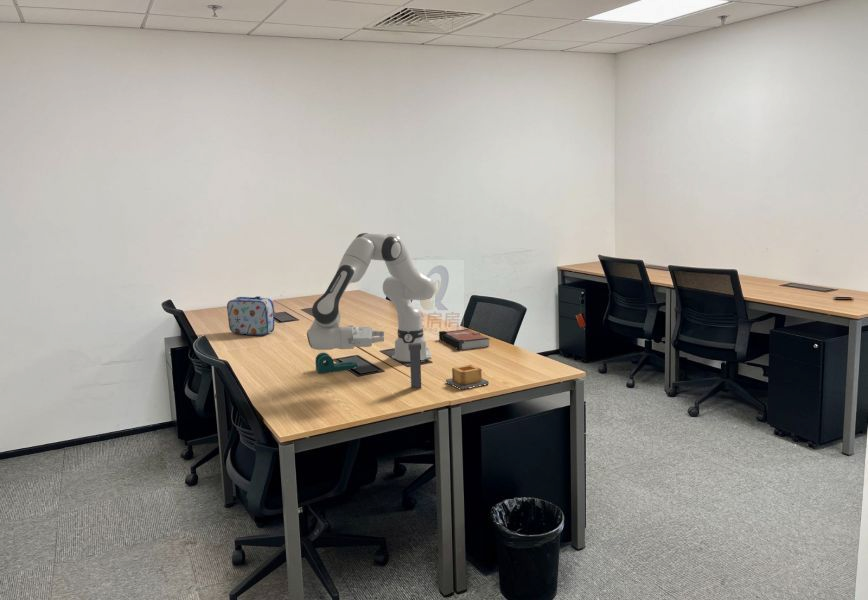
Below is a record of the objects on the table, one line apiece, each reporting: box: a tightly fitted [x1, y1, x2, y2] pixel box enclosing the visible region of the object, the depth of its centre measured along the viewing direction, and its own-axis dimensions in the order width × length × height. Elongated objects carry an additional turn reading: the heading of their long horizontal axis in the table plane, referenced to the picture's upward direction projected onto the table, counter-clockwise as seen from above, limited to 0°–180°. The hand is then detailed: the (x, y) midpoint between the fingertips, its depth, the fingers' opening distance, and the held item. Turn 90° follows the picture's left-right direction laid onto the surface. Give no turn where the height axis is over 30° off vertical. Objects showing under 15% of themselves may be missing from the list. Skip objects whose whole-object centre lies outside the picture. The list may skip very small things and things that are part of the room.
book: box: [438, 328, 491, 352], centre depth 351 cm, size 26×18×5 cm
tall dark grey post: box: [408, 343, 422, 389], centre depth 277 cm, size 5×3×18 cm, turn 94°
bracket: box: [315, 352, 358, 375], centre depth 309 cm, size 18×7×8 cm, turn 111°
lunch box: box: [226, 296, 277, 336], centre depth 387 cm, size 28×10×22 cm, turn 73°
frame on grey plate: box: [445, 364, 489, 389], centre depth 281 cm, size 13×12×6 cm
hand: (383, 336), depth 274 cm, fingers open, 8 cm apart
